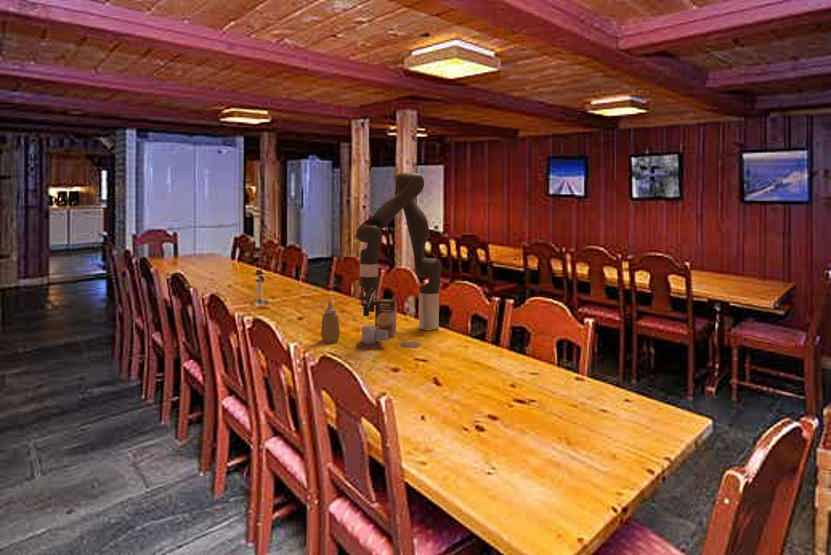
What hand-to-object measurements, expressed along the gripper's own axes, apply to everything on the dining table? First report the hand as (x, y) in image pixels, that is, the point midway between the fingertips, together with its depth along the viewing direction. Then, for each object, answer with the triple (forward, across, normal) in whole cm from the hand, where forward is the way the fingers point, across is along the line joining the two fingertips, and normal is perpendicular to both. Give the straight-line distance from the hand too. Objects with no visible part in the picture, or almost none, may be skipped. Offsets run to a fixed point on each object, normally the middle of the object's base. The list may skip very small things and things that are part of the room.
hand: (369, 314), depth 227 cm
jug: (+14, 0, -2) cm, 14 cm away
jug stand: (+14, 0, 0) cm, 14 cm away
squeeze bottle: (+14, +4, +18) cm, 23 cm away
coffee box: (+14, +21, -2) cm, 26 cm away
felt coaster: (+14, +6, -16) cm, 22 cm away
